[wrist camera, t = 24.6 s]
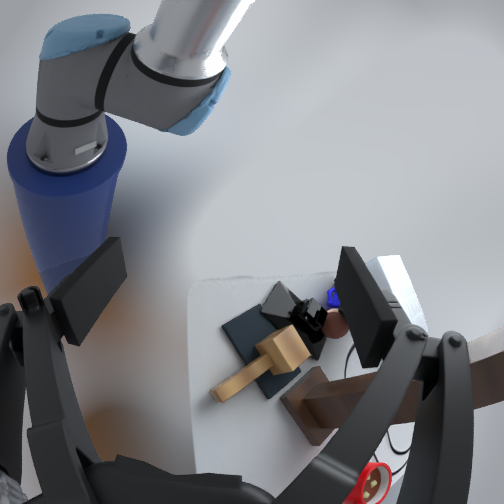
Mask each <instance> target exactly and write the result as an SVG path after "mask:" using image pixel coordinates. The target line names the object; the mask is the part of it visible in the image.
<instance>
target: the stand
mask: <svg viewBox="0 0 504 504" xmlns="http://www.w3.org/2000/svg"><path fill="white" fill-rule="evenodd" d="M467 345H468V352H469V360H470V368H471V378H472V390H473V410H474V409H478V408H481V407H485V406H488V405H491V404H495V403H498V402H501V401H504V327H503V328H501V329H499V330H496V331H494V332H492V333H490V334H487V335H485V336H483V337H480V338H478V339H476V340H473V341H471V342H468V343H467ZM377 372H378V371H377ZM377 372H373V373H369V374H364V375H360V376H355V377H351V378H346V379H341V380H335V381H330V382H329V381H328V379H327V377H326V376H325V374H324V372H323V371H322V369H321V367H320V366H317V367H313V368H312V369H311V370H310V371H309V372H307V373H306V374H305V375H304V376H303V377H302V378H301V379H300V380H299V381H298V382H297V383H296V384H295V385H293V386H292V387H291V388H290V389H289V390H288V391H287V392H286V393H284V394H283V395H282V396H281V397H280V399H281V401H282V402H283V404H284V405H285V407H286V408H287V410H288V411H289V413H290V414H291V415H292V417H293V418H294V420H295V421H296V423H297V424H298V426H299V427H300V429H301V430H302V432H303V433H304V434H305V436H306V437H307V439H308V440H309V442H310V443H311V444H312V446H320V445H321V444H322V443H323V441H324V440H325V439H326V438H327V437H328V436H329V435H330V433H331V432H332V431H333V430H334V429H335V428H340V427H341V425H342V424H343V423H344V421H345V420H346V419H347V417H348V416H349V414H350V413H351V412H352V410H353V409H354V407H355V406H356V404H357V403H358V401H359V400H360V398H361V397H362V395H363V394H364V392H365V391H366V389H367V388H368V386H369V385H370V383H371V381H372V380H373V378H374V377H375V375H376V373H377ZM419 385H420V381H418V380H412V382H411V384H410V386H409V388H408V390H407V393H406V395H405V397H404V399H403V401H402V403H401V405H400V407H399V409H398V411H397V413H396V415H395V417H394V419H393V421H392V423H391V425H394V424H402V423H410V422H415V419H416V412H417V404H418V395H419Z"/></svg>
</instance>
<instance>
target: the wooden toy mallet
mask: <svg viewBox="0 0 504 504" xmlns="http://www.w3.org/2000/svg"><path fill="white" fill-rule="evenodd" d="M255 347H256V349H257V350H258V352H259V353H260V355H261V356H259V357H258V358H256V359H255V360H254V361H252V362H251V363H249V364H248V365H247V366H245V367H244V368H242V369H241V370H239V371H238V372H237V373H235V374H234V375H232V376H231V377H229V378H228V379H226V380H225V381H223V382H222V383H220V384H219V385H217V386H216V387H214V388H213V389H211V390H210V393H211V394H212V396H213V397H214V399H215V400H216V402H225V401H226V400H227V399H229V398H230V397H232V396H233V395H234V394H236V393H237V392H239V391H240V390H241V389H243V388H244V387H245V386H247V385H248V384H249V383H251V382H252V381H253V380H255V379H256V378H257V377H259V376H260V375H261V374H263V373H264V372H265V371H267V370H268V369H270V371H271V372H272V374H273V375H277V374H282V373H287V372H292V371H294V370H295V369H296V368H297V367H298V366H299V365H300V364H302V363H303V362H304V361H305V360H306V359H307V358H308V357H309V356H310V355H311V354H310V353H309V351H308V349H307V348H306V346H305V344H304V343H303V341H302V340H301V338H300V336H299V335H298V333H297V331H296V330H295V328H294V326H293V325H290V326H287V327H285V328H283V329H280V330H278V331H275V332H273V333H272V334H270V335H269V336H268V337H266V338H265V339H263V340H262V341H261V342H259V343H258V344H256V345H255Z"/></svg>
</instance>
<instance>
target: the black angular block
mask: <svg viewBox="0 0 504 504" xmlns="http://www.w3.org/2000/svg"><path fill="white" fill-rule="evenodd" d="M260 312H261V314H262V315H264V316H265V317H266V318H267V319H268V320H269V321H270V322H272V323H273V324H274V325H275V326H276V327H277V328H278V329H283V328H285V327H287V326H290V325H293V326H294V328H295V330H296V331H297V333H298V335H299V336H300V338H301V340H302V341H303V343H304V344H305V346H306V348H307V349H308V351H309V353H310V354H311V355H310V356H311V357H312V358H314V359H315V360H318V359H319V357H320V354H321V351H322V349H323V346H324V343H325V341H326V338H327V336H326V335H324V334H323V332H322V331H321V327H323V326H324V323H325V320H326V317H327V315H328V312H327V311H326V310H325V309H324V308H323V307H322V306H321V305H320V304H319V303H318V302H317V301H316V300H314V299H313V298H311V299H309V300H308V299H306V300H304V301H301V300H300V299H299V298H298V297H297V296H295V295H294V294H293V293H292V292H291V291H290V290H289V289H288V288H287V287H286V286H285V285H284V284H283V283H282V282H281V281H278V282H277V284H276V286H275V287H274V289H273V291H272V292H271V294H270V296H269V298H268V299H267V301H266V303H265V304H264V306H263V308H262V309H261V311H260Z"/></svg>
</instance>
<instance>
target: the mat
mask: <svg viewBox="0 0 504 504" xmlns="http://www.w3.org/2000/svg"><path fill="white" fill-rule="evenodd" d="M261 309H262V306H261V304H258V305H257V306H255V307H253V308H252V309H250V310H248V311H246V312H245V313H243V314H241V315H240V316H238V317H236V318H234V319H233V320H231V321H229V322H227V323H226V324H224V325H222V327H223V329H224V330H225V332H226V334H227V335H228V337H229V339H230V340H231V342H232V344H233V345H234V347H235V349H236V350H237V352H238V353H239V355H240V357H241V358H242V360H243V361H244V363H245V365H246V366H247V365H248V364H249V363H251V362H252V361H254V360H255V359H256V358H258V357H259V356H261V355H260V353H259V352H258V350H257V349H256V347H255V345H256V344H258V343H259V342H261V341H262V340H263V339H265V338H266V337H268V336H269V335H270V334H272V333H273V332H275V331H276V329H275V328H274V326H273V324H272V323H271V322H270V321H269V320H268V319H267V318H266V317H265V316H264V315H262V314H261V312H260V311H261ZM300 372H301V370H300V368H299V367H297V368H296V369H295V370H294V371H292V372H287V373H282V374H277V375H273V374H272V372H271V371H270V369H268V370H267V371H265V372H264V373H263V374H261V375H260V376H259V377H257V378H256V379H255V380H256V382H257V383H258V385H259V387H260V388H261V390H262V391H263V393H264V394H265V396H266V397H267V399H270V398H272V397H273V396H274V395H275V394H276V393H277V392H279V391H280V390H281V389H282V388H283V387H284V386H286V385H287V384H288V383H289V382H290V381H291V380H292V379H294V378H295V377H296V376H297V375H298V374H299V373H300Z"/></svg>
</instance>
